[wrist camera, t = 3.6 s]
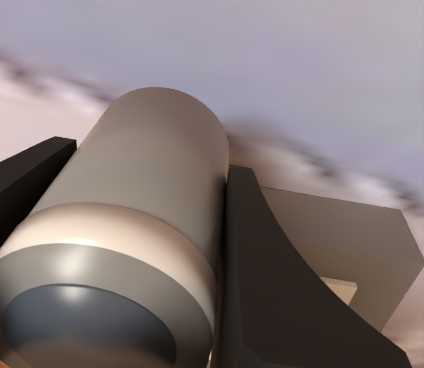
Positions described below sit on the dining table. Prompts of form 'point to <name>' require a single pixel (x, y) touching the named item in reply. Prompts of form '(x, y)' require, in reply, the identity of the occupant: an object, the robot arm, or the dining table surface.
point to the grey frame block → (351, 249)
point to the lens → (122, 244)
